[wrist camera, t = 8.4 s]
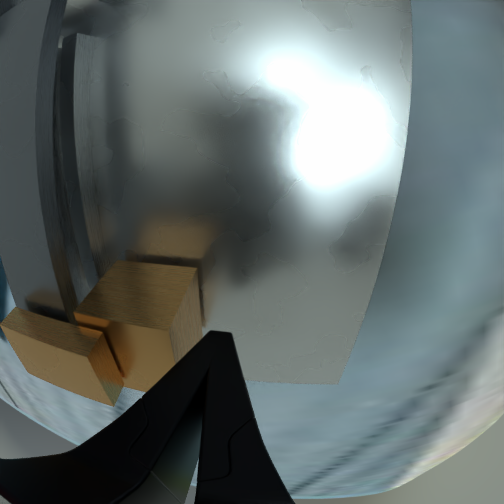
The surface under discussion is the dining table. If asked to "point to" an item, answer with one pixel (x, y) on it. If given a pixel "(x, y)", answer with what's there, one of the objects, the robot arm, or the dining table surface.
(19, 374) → the dining table surface
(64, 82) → the grey piece
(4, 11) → the strap
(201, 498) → the robot arm
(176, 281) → the tab
